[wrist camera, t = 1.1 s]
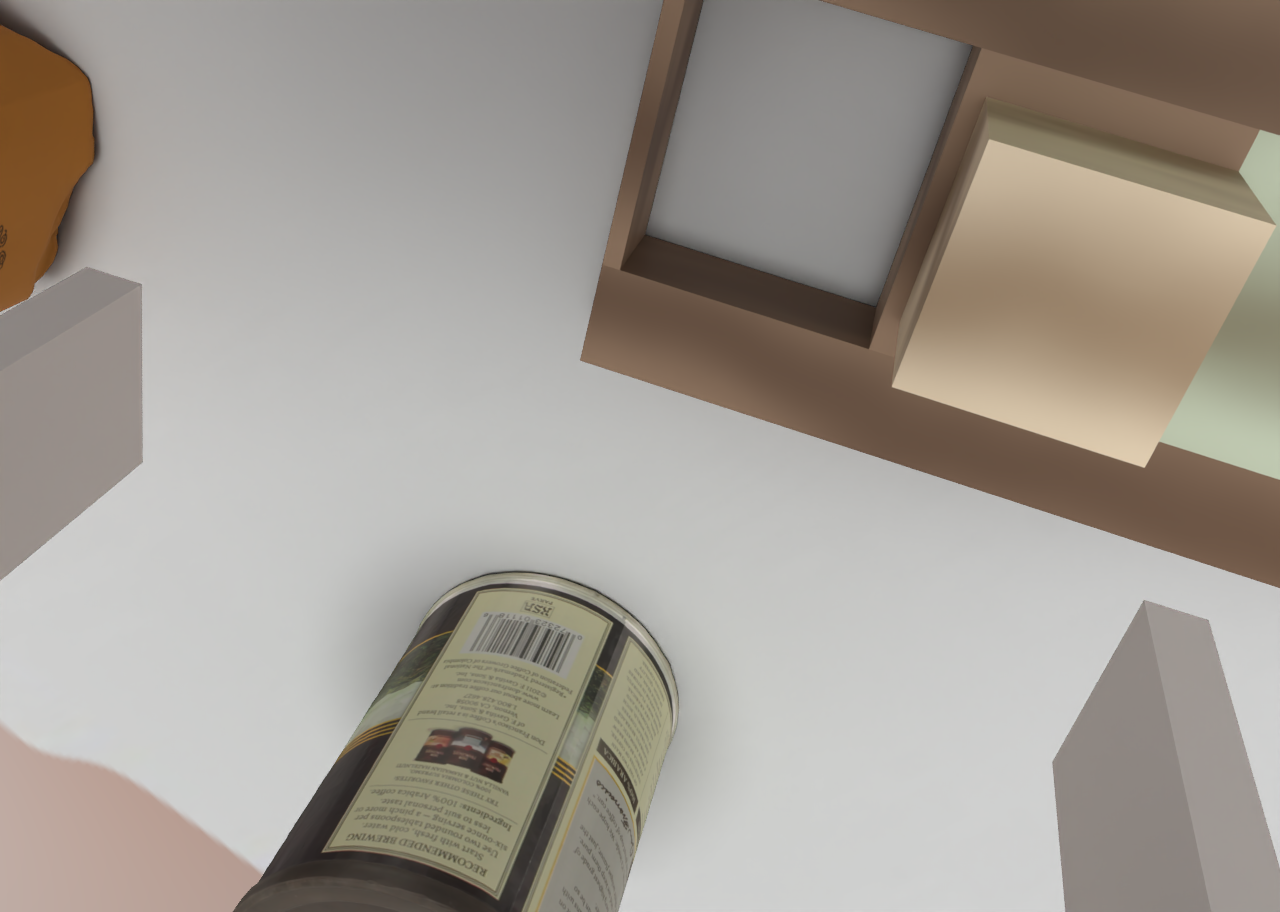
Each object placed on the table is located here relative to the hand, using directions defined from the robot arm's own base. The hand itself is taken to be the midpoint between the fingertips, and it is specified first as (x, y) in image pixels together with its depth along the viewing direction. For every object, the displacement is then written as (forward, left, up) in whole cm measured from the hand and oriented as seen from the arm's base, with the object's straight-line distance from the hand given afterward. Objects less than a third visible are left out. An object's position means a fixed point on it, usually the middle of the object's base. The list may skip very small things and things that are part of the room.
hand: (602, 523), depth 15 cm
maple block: (0, +7, -18) cm, 19 cm away
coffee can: (+22, -3, -21) cm, 31 cm away
